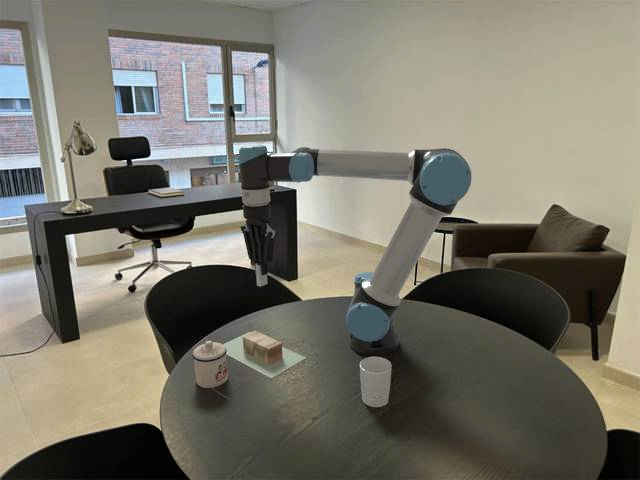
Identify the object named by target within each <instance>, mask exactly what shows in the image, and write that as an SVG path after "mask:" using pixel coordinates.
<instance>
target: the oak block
mask: <svg viewBox="0 0 640 480" xmlns="http://www.w3.org/2000/svg"><path fill="white" fill-rule="evenodd" d="M250 332H251V333H249V334H247V335H245V336H243V348H244V352H246V353H248V354H250V355H252V356H254V357H256V358H258V359H260V360H262V361H264V362H266V363H268V364H270V365H271V364H272V363H274V362H276V361H278V360H280V359H281V358H283V355H282V347H283V342H281V341H279V340H277V339H275V338H272V337H270V336H269V335H266V334H264V333H262V332H259V331H258V330H254V331H250Z"/></svg>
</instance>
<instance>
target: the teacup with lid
mask: <svg viewBox="0 0 640 480" xmlns="http://www.w3.org/2000/svg"><path fill="white" fill-rule="evenodd" d="M223 344H224V343H223ZM223 344H222V343H221V342H215V341H214V342H213V341H212V340H206V341H205V342H204V343H203V344H200V345H198V346H197V347H195V349H194V350H193V351H192V358H193V366H194V370H195V371H194V372H195V373H194V374H195V380H196V384H197V386H199V387H201V388H204V389H213V388H215V387H219V386H221V385H223V384H225V383H226V382H227V380H228V378H229V369H228V357H227V354H226V352H227V349H226V347H225V346H224V345H223Z"/></svg>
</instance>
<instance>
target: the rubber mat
mask: <svg viewBox="0 0 640 480" xmlns="http://www.w3.org/2000/svg"><path fill="white" fill-rule="evenodd" d="M251 332H252V331H248V332H247V333H244V334H242V335H240V336H238V337H236V338H233V339H231V340H229V341H227V342H225V343H223V345H224V346H225V347H226V349H227V352H226V356H229V357H230V358H232V359H234V360H235V361H237V362H240V363H242V364H244V365H245V366H248V368H250V369H253V370H255V371H257V372H258V373H260V374H262V375H263V376H266V377H268V378H269V379H270V380H271V381H272V380H273V379H275V378H276V377H278V376H280V375H282V374H283V373H285V372H287V371H288V370H290V369H291V368H293V367H295V366H297V365H300V363H302V362H304V361H306V360H307V357H306V356H304V355H301V354H299V353H297V352H295V351H292V350H290V349H288V348H286V347H284V346H282V355H283V358H281V359H280V360H278V361H276V362H274V363H272V364H271V365H270V364H268V363H266V362H264V361H262V360H260V359H258V358H256V357H254V356H252V355H250V354H248V353H246V352H244V348H243V336H245V335H247V334H249V333H251Z"/></svg>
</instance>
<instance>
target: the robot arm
mask: <svg viewBox="0 0 640 480" xmlns="http://www.w3.org/2000/svg"><path fill="white" fill-rule="evenodd" d="M238 165H239V177H240V185H241V187H240V188H241V202H242V204H243V205H242V216H243V218H244V219H246V221H245V224H244V225H241V226H240V230H241V232H242V234H243V239H244V243H245V247H246V248H245V249H246V253H247V256H248V260H252V262H253V263H254V273H255V275H256V276H255V277H256V286H257V287H263V286H265V285H268V274H269V270H268V263H269V264H270V263H272V262H273V259H274V251H275V242H276V238H277V235H278V231H277V230H276V229H275V230H273V228H271V223H270V218H271V217H272V208H271V207H272V205H271V204H270V202H271V192H270V191H271V189H270V183H273V182H275V183H277V182H278V183H279V182H281V183H284V182H285V183H286V182H287V183H299V184H300V183H303V182H304V183H306V182H311V180H312V179H313V177H314V176H315V177H316V176H317V177H320V176H321V177H334V178H335V177H336V178H337V177H338V178H353V179H369V180H372V179H373V180H385V181H387V180H390V181H403V182H408V183H409V184H410V185H412V186H411V188H410V190H409V192H408V195H409V200H410V203H409V205H408V207H407V208H406V211H405V213H404V215H403V217H402V219H401V220H400V223H399V224H398V226H397V227H396V230H395V231H394V233H393V235H392V238H390V239H391V240H389V243H388V245H387V247H386V249H385V251H384V252H383V254H382V256H381V258H380V260H379V262H378V264H377V265H376V268H375V269H374V270H373V271H366V272H365V271H364V272H360V273H358V274H356V275H355V276H354V281H353V283H354V293H353V296H352V299H351V301H350V304H349V306H348V309H347V310H346V313H345V315H346V316H345V325H346V327H347V329H348V331H349V333H350V334H349V337H348V338H349V339H348V341H349V347H350V349H352V350H353V351H354V352H356V353H359V354H362V355H365V356H370V357H381V356H385V355H388V354H391V353H393V352H395V351H396V350H397V349H398V345H399V336H398V333H397V331H396V328H395V324H394V321H393V320H394V319H393V318H394V315H395V314H396V312H397V310H398V308H399V307H400V305H401V302H402V301H401V298H400V292H401V291H402V290H403V287H404V286H405V284H406V282H407V281H408V279H409V278H410V275H411V273H412V272H413V270H414V268H415V267H416V264H417V263H418V261H419V259H420V257H421V255H422V254H423V252H424V250H425V248H426V247H427V245H428V244H429V242H430V239H431V237H432V236H433V235H434V233H435V231H436V229H437V227H438V226H439V224H440V222H441V220H442V218H445V217H448V216H450V215H452V214H453V211H454V210H455V208H456V206H457V204H458V203H459V202H460V201H461V200H462V199H463V198H464V197H465V196H466V195H467V193H468V192H469V190H470V187H471V185H472V178H473V177H472V170H471V167H470V165H469V163H468V161H467V160H466V159H465V158H464V157H463V156H462V154H460V153H459V152H458V151H455V150H454V149H452V148H432V149H413V150H412V151H410V152H394V151H392V152H389V151H374V150H373V151H370V150H349V149H347V150H345V149H344V150H343V149H325V148H324V149H322V148H320V149H319V148H318V149H317V148H310V147H307V146H306V147H305V146H303V147H302V146H301V147H299V148H296V149H294V150H291V151H289V152H277V153H276V152H269V151H268V148H267V146H266V145H263V144H257V145H256V144H254V145H252V144H251V145H243V146H241V147H240V148H239V149H238Z"/></svg>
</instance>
